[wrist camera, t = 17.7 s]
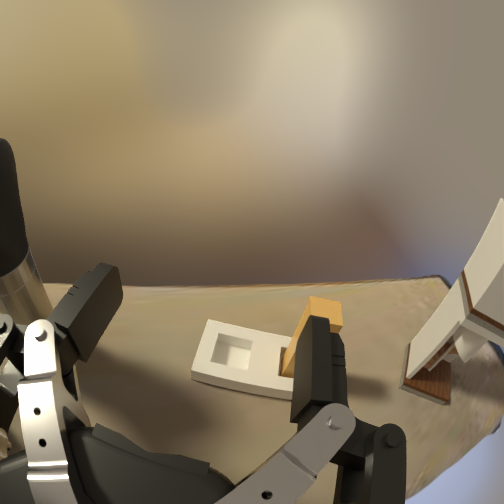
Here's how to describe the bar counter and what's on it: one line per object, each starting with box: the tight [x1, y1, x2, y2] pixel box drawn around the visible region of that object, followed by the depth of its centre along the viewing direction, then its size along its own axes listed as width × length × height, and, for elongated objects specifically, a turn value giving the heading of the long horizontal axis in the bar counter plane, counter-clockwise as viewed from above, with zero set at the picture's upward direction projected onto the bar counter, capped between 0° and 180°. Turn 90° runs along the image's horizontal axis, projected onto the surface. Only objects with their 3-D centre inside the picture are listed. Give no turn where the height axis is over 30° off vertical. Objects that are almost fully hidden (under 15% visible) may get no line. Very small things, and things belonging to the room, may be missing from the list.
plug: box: [280, 296, 343, 378], centre depth 36 cm, size 4×4×15 cm
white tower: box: [399, 198, 504, 405], centre depth 32 cm, size 11×11×35 cm
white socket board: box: [191, 319, 294, 400], centre depth 40 cm, size 20×10×3 cm, turn 81°
